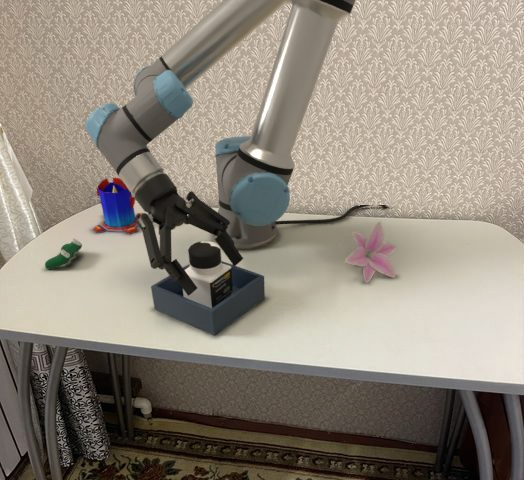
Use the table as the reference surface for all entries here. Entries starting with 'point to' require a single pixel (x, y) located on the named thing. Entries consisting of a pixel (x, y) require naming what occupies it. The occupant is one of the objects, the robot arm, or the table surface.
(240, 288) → the tote
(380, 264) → the lily
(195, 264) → the medicine bottle
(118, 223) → the fantasy tower
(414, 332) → the table surface
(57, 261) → the gaming controller
